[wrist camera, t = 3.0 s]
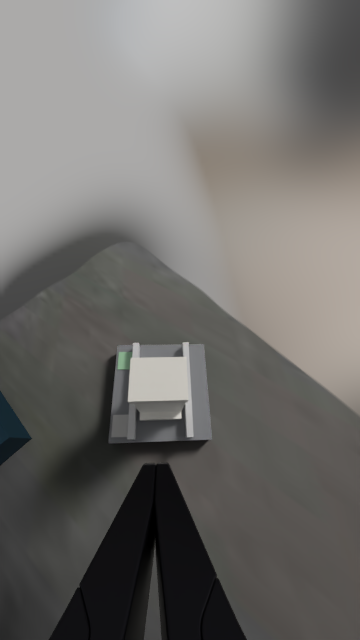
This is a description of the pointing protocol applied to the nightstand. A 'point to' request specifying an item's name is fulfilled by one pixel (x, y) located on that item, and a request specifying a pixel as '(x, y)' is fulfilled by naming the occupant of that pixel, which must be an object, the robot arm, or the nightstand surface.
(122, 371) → the breaker panel
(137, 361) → the handle
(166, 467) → the robot arm
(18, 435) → the watch
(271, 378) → the nightstand surface
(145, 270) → the nightstand surface
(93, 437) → the nightstand surface
